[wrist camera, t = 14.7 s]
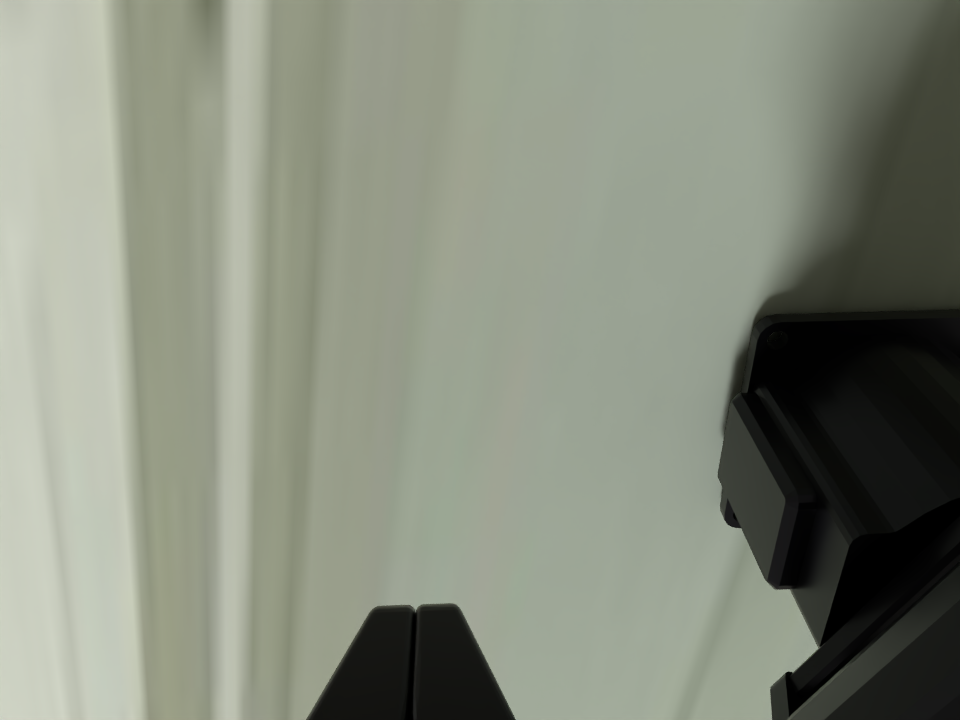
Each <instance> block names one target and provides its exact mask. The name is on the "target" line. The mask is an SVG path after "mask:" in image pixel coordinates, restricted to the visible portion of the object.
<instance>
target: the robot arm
mask: <svg viewBox="0 0 960 720" xmlns="http://www.w3.org/2000/svg"><path fill="white" fill-rule="evenodd" d="M777 331H782V334H781V336H780V337H779V338H778V339H777V340H775V341H771V342H769V341H767V340H768V338H769V336H770V335H771V334H772V333H774V332H777ZM718 478H719V480H720V483H721V485H722V487H723V492H722V498H721V503H720V511H721V513H722V515H723V517H724V520H725V521H726V523H727V524H728V525H730V526H731V527H735V528H742V531H743V533H744V535H745V537H746V539H747V542H748V544H749V546H750V548H751V550H752V552H753V555H754V557H755V559H756V561H757V563H758V566H759V568H760V570H761V572H762V574H763V576H764V579H765V580H766V581H767V582H768V583H769V584H770V585H771V586H772V587H773V588H774V589H777V590H778V589H790V590H791V593H792V595H793V597H794V599H795V601H796V603H797V605H798V607H799V609H800V611H801V613H802V615H803V617H804V619H805V621H806V623H807V625H808V627H809V629H810V632H811V634H812V636H813V638H814V640H815V642H816V644H817V646H818V648H819V649H818V650H817V651H815V652H814V653H813V654H812V655H811V656H810V657H809V658H808V659H807V660H806V661H805V662H804V663H803V664H802V665H801V666H800V667H799V668H798V669H796V670H795V671H794V672H793V673H792V672H786V673H785V674H784V675H783V676H782V677H781V678H780V679H779V680H778V681H777V682H776V683H775V684H773V685H772V686H771V689H770V693H771V707H772V720H960V310H930V311H890V312H851V313H811V314H775V315H770V316H766V317H765V318H763V319H761V320H760V321H759V322H758V323H757V324H756V325H755V326H754V329H753V331H752V335H751V340H750V345H749V351H748V356H747V362H746V367H745V373H744V378H743V383H742V389H741V393H738V394H737V395H736V396H735V397H734V398H733V400H732V401H731V402H730V407H729V413H728V418H727V424H726V430H725V435H724V441H723V447H722V452H721V458H720V464H719V469H718ZM306 720H516V719H515V717H514V715H513V713H512V711H511V709H510V707H509V705H508V703H507V701H506V699H505V697H504V695H503V693H502V691H501V689H500V687H499V685H498V683H497V681H496V679H495V677H494V675H493V673H492V671H491V669H490V667H489V665H488V663H487V661H486V659H485V657H484V655H483V653H482V651H481V649H480V647H479V645H478V643H477V641H476V639H475V637H474V635H473V633H472V631H471V629H470V627H469V625H468V623H467V621H466V619H465V617H464V615H463V613H462V611H461V609H460V608H459V607H458V606H457V605H456V604H452V603H447V604H423V605H420V606H419V607H418V608H417V610H416V612H415V609H414V608H413V607H412V606H410V605H391V606H377V607H375V608H374V609H372V610H371V612H370V613H369V614H368V616H367V618H366V619H365V621H364V623H363V624H362V626H361V628H360V629H359V631H358V633H357V635H356V636H355V638H354V640H353V641H352V643H351V645H350V646H349V648H348V650H347V651H346V653H345V655H344V657H343V658H342V660H341V662H340V663H339V665H338V667H337V668H336V670H335V672H334V673H333V675H332V677H331V679H330V680H329V682H328V684H327V685H326V687H325V689H324V690H323V692H322V694H321V695H320V697H319V699H318V701H317V702H316V704H315V706H314V707H313V709H312V711H311V712H310V714H309V716H308V717H307V719H306Z"/></svg>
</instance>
